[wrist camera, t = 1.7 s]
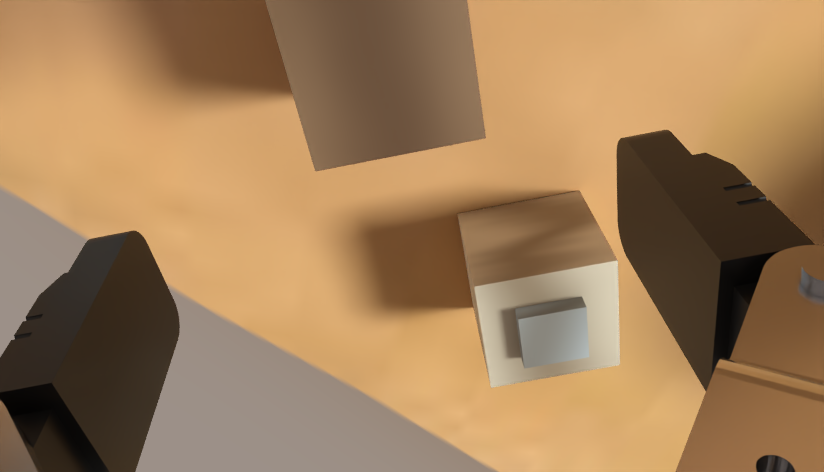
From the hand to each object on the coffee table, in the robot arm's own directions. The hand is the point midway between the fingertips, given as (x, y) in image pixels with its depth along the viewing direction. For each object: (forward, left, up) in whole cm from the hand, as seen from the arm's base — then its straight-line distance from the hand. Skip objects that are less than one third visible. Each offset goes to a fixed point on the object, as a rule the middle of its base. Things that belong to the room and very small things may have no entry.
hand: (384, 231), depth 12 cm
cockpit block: (-4, +11, -14) cm, 18 cm away
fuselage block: (0, 0, -14) cm, 14 cm away
